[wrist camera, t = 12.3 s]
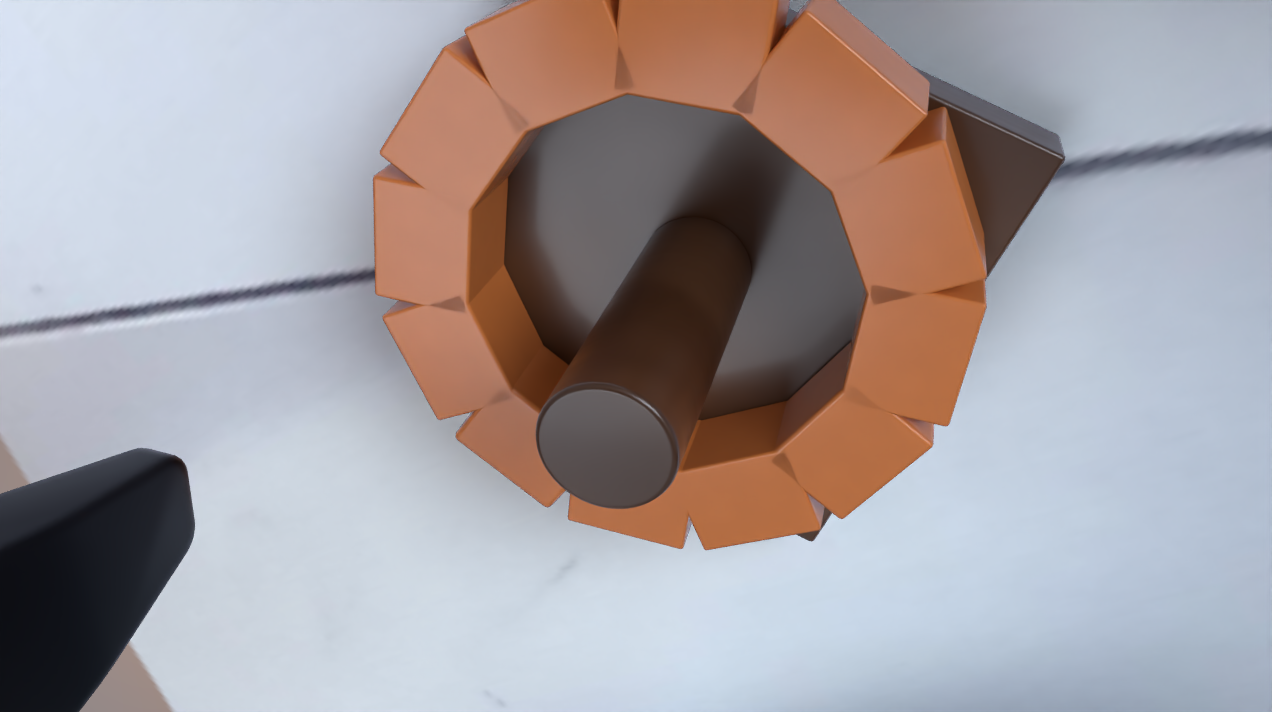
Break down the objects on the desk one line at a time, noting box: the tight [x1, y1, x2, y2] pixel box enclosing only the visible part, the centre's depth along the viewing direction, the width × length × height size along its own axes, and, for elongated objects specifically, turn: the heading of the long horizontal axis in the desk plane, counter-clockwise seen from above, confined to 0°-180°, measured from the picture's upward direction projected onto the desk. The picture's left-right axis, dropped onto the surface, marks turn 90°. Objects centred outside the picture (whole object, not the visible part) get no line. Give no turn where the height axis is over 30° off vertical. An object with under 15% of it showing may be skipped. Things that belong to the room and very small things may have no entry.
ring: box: [373, 0, 987, 550], centre depth 18 cm, size 10×10×2 cm
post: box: [504, 9, 1065, 541], centre depth 17 cm, size 9×9×7 cm
